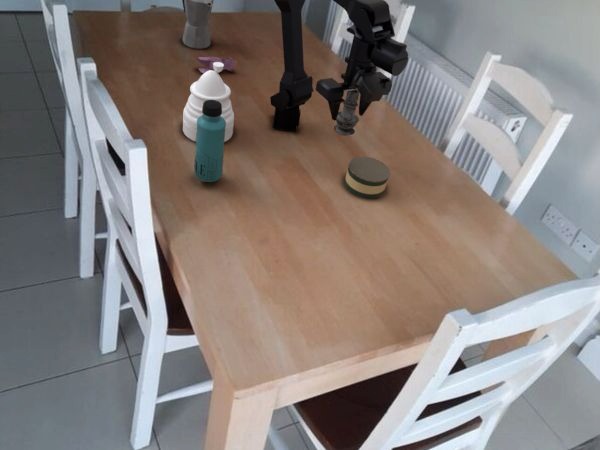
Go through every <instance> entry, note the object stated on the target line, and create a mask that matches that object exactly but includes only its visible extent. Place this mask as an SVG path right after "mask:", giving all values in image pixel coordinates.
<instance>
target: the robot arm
mask: <svg viewBox="0 0 600 450" xmlns="http://www.w3.org/2000/svg"><path fill="white" fill-rule="evenodd" d="M273 1H274V3H275V5H276V6H277V8H278V10H279V11H280V17H281V30H282V31H281V33H282V50H283V65H284V66H283V67H284V71H283V72H282V73H283V74H282V76H281V79H280V80H279V88H278V89H279V90H278V92H276V93H274V94H273V95H271V96H269V101H270V105H271V106H272V107H274V114H273V115H272V129H273V130H279V131H287V132H293V133H294V132H295V133H296V132H297V129H298V127H299V126H300V125H299V124H300V119H301V115H302V114H301V112H302V111H301V108H300V106H303V105H305V104H306V103H307V102H308V101H309V100H310V99H311V98H312V95H313V93H314V87H313V84H314V83H313V81H314V78H313V76H311V75H310V76H309V75H308V73H307V72H306V70H305V63H304V42H303V40H304V39H303V23H302V21H303V20H302V18H303V17H302V10H303V7H304V5H305V3H306V0H273ZM332 1H333V2H334V3H336V4H337V5H338V6H340V7H341V8H342V9H344V10H345V11H346V14H347V17H348V19H349V21H351V23H352V25H351V26H349V27H347V28H346V32H347V33H349V34H351V35H353V38H352V42H351V47H350V51H349V55H348V56H345V57H344V63H346V67H345V72H342V73H341V75H340V78H341V79H342V80H343V81H342V82H338V81H337V80H336V79H334V78H333V77H328V78H320V79H319V80H318V81H316V83H315V84H316V85H315V91H316V92H317V93H318V94H319V95H321V97H323V98H324V99H325V100H326V101H327V103H328V107H329V111H330V116H331V119H332V121H335V122H336V118H337V116H338V112H340V107H341V104H343V102H344V101H345V99H344V98H343V97H344V95H345V92H347V91H351V90H357V91H358V92H359V102H358V103H359V104H358V115H359V116H360V117H362V116H364V114H365V113H366V111H367V110H368V109H369V107H370V105H371V104H372V103H373V102H380V101H381V99H382V98H383V96H389V94H390V93H391V91H392V88H393V81H392V79H391V78H390V77H388V76H387V75H386V74H384V73H383V72H382V71H384V72H386V73H388V74H390V75H391V76H392V77H393V76H394V77H398V76H400V75H401V74H402V73H403V71H404V70H405V69H406V67H407V66H408V63H409V52H408V51H407V48H408V45H407V44H406V43H404V42H401V41H398V40H396V39H394V37H395V36H396V33H395V30H394V25H393V21H392V17H391V11H390V5H389V3H388V2H387V1H386V0H332ZM378 28H381V29H379V30H376V31H374V29H378ZM377 68H379V69H381V70H382V71H377Z"/></svg>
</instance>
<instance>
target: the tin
mask: <svg viewBox="0 0 600 450" xmlns="http://www.w3.org/2000/svg"><path fill="white" fill-rule="evenodd" d="M390 176H391V170H390V168H389V167H388V166H387V164H385V163H384V162H383V161H381V160H379V159H377V158H374V157H370V156H357V157H354V158H352V159H351V160H350V161H349V163H348V167H347V170H346V174H345V177H344V178H345V179H344V185H345V187H346V189H347V190H348V191H349V192H350V193H351V194H353V195H355V196H357V197H360V198H364V199H376V198H379V197H381V196H382V195H383V194H384V193H385V190H386V186H387V185H388V181H389V178H390Z"/></svg>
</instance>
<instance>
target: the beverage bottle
mask: <svg viewBox="0 0 600 450" xmlns="http://www.w3.org/2000/svg"><path fill="white" fill-rule="evenodd" d="M202 113H203V115H201V116H200V117H199V118H198V119H197V135H196V141H194V142H195V155H194V164H193V165H194V174H195V177H196V178H197V179H198V180H200V181H203V182H207V183H212V182H216V181H218V180H220V179H221V177H222V176H223V173H224V172H223V170H224V168H223V167H224V154H225V142H224V138H225V126H226V121H225V120H224V118H222V117H221V116H220V115H221V114H222V105H221V103H220V102H219V101H216V100H207V101H205V102H204V103H203V108H202Z"/></svg>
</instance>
